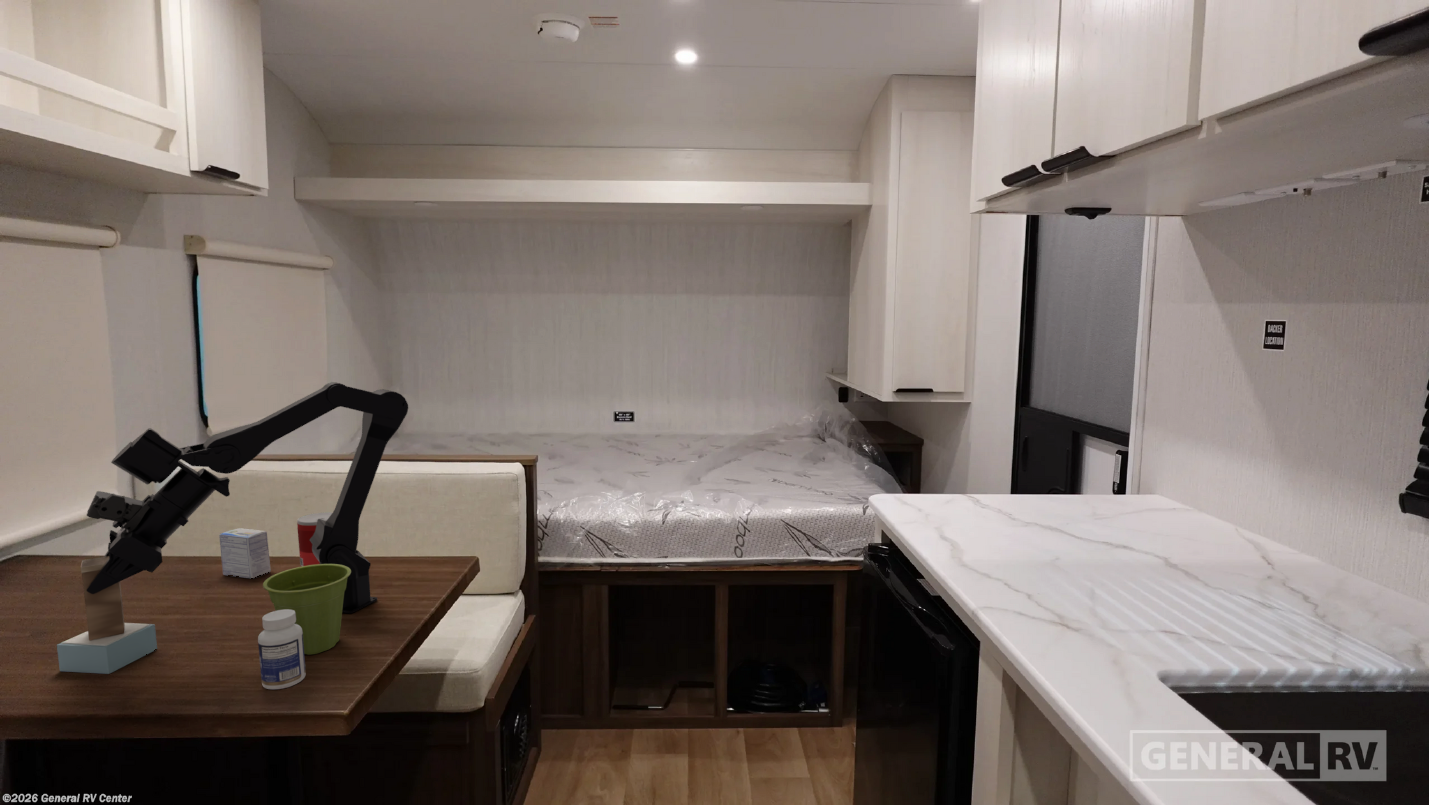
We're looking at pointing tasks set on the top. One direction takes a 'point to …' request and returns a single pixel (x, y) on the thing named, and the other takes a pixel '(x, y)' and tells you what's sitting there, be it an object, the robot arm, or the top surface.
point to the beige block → (102, 603)
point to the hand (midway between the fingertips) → (90, 588)
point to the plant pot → (312, 601)
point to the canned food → (308, 536)
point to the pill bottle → (281, 650)
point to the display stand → (107, 650)
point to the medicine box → (245, 553)
